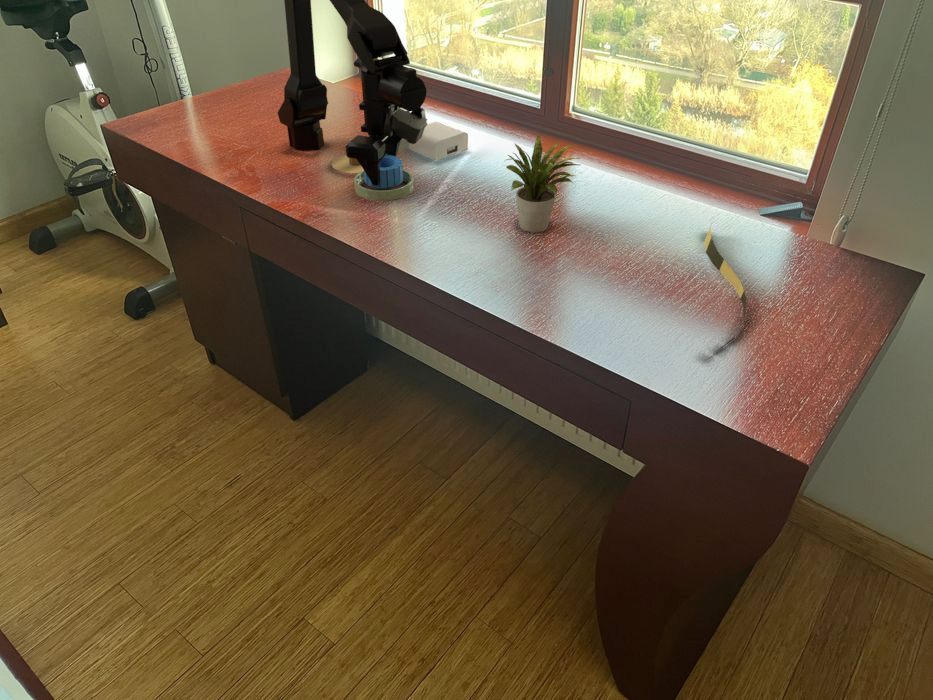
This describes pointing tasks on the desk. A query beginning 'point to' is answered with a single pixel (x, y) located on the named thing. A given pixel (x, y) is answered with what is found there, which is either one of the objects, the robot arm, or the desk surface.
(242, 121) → the desk surface
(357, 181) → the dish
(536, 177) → the house plant
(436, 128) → the charger
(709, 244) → the tape
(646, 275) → the desk surface
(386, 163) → the blue gear
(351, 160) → the tape holder
